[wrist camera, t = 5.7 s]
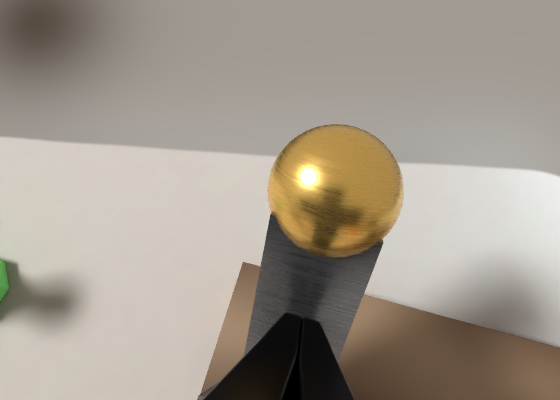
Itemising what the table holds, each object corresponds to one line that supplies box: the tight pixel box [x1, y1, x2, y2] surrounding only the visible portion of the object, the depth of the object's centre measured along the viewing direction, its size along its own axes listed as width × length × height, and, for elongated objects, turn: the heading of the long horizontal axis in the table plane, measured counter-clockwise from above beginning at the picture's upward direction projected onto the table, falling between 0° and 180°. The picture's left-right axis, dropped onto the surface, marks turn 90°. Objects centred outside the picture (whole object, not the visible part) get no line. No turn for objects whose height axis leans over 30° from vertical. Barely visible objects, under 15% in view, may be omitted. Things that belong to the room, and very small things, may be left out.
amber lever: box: [244, 124, 403, 360], centre depth 9 cm, size 3×3×12 cm
